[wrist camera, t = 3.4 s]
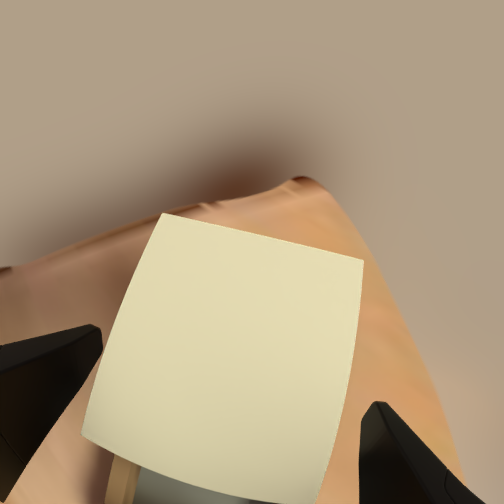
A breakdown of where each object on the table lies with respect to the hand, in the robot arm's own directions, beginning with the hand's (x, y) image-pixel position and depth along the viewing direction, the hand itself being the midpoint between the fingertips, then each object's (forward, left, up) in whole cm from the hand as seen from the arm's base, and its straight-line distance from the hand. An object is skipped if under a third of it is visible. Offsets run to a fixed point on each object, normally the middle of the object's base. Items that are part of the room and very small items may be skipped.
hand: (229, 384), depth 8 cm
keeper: (0, 0, -7) cm, 7 cm away
